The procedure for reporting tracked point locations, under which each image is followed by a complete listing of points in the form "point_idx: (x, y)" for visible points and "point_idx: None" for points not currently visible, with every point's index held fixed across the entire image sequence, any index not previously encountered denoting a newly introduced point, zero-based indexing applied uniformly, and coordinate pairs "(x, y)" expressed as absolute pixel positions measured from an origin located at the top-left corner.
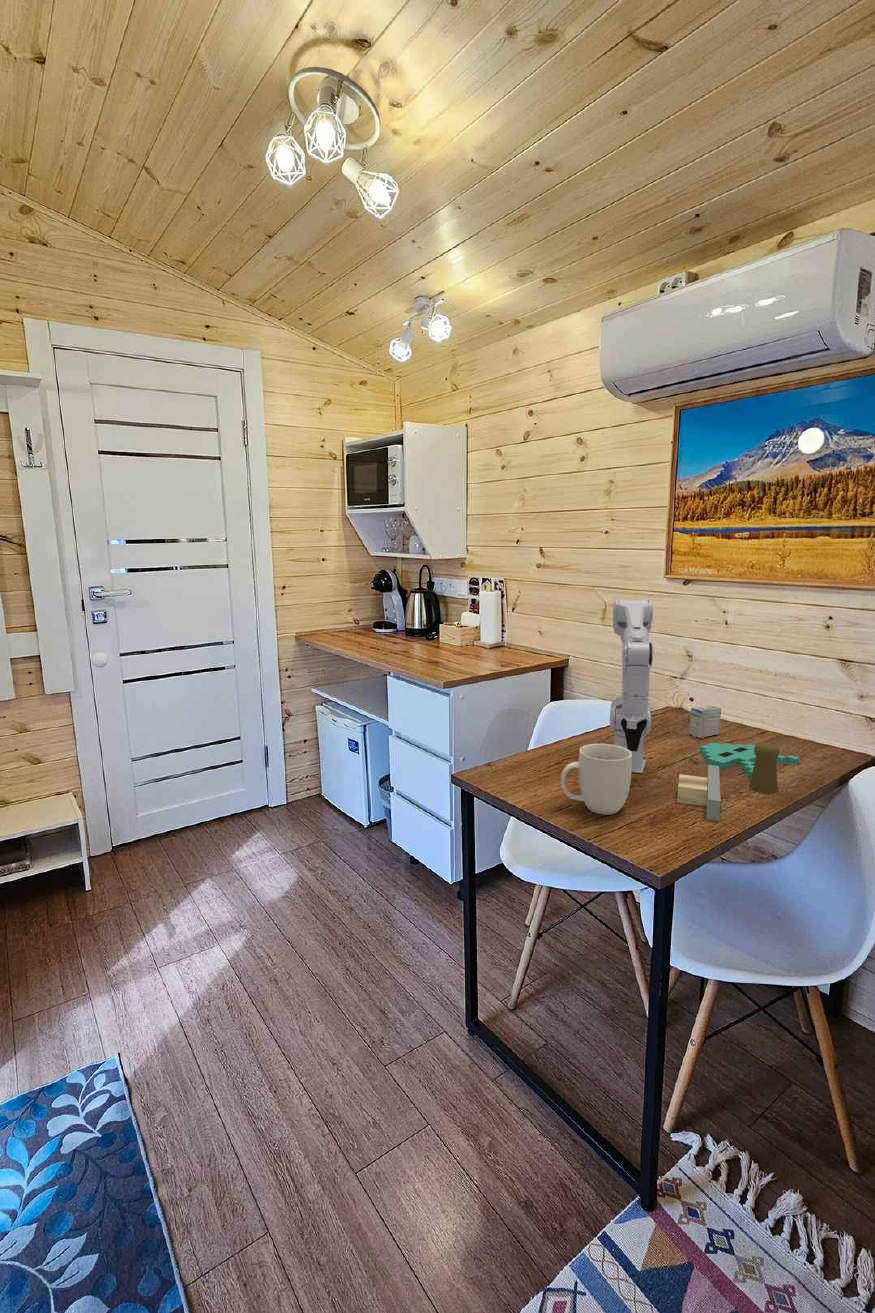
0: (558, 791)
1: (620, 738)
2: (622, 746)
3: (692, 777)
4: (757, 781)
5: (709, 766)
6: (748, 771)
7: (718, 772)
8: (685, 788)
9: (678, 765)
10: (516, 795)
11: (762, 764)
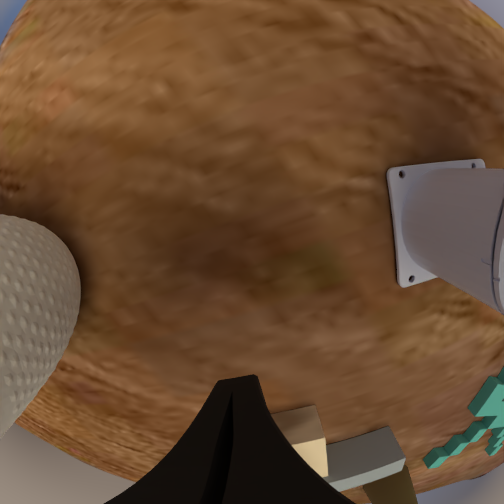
0: (77, 102)
1: (490, 217)
2: (460, 225)
3: (313, 461)
4: (375, 493)
5: (394, 463)
6: (438, 456)
7: (355, 486)
8: None
9: (481, 336)
10: (21, 49)
11: None
